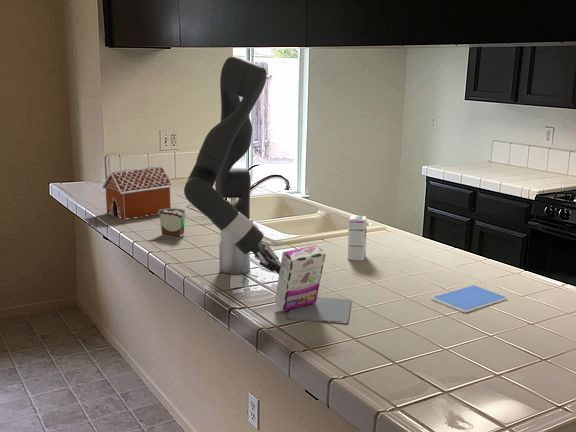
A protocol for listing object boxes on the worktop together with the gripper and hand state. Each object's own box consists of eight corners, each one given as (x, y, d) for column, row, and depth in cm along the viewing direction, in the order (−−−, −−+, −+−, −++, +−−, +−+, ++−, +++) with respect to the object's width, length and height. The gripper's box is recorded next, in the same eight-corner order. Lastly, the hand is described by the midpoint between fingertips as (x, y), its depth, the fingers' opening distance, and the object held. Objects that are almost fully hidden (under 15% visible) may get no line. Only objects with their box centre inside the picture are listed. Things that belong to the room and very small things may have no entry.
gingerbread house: (102, 213, 274) (99, 168, 269) (153, 204, 291) (152, 162, 286) (122, 221, 261) (120, 174, 256) (175, 212, 278) (174, 167, 273)
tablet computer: (473, 288, 191) (473, 284, 191) (508, 301, 181) (509, 296, 181) (429, 301, 180) (430, 296, 180) (465, 315, 170) (465, 311, 170)
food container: (193, 236, 241) (193, 210, 238) (183, 239, 236) (182, 213, 233) (170, 231, 247) (169, 206, 245) (159, 234, 242) (158, 209, 240)
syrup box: (364, 260, 214) (366, 219, 210) (347, 259, 215) (348, 218, 211) (365, 255, 219) (367, 215, 216) (348, 254, 220) (350, 214, 217)
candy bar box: (305, 294, 177) (316, 244, 170) (316, 304, 174) (327, 253, 167) (272, 302, 171) (282, 250, 164) (282, 312, 168) (292, 260, 160)
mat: (286, 319, 164) (287, 317, 164) (295, 297, 180) (295, 295, 180) (347, 323, 162) (347, 322, 162) (351, 301, 178) (351, 299, 177)
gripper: (251, 230, 160) (297, 275, 164) (253, 217, 173) (296, 259, 177) (230, 249, 162) (277, 294, 165) (234, 235, 175) (277, 277, 178)
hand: (287, 276), depth 171 cm, fingers closed
